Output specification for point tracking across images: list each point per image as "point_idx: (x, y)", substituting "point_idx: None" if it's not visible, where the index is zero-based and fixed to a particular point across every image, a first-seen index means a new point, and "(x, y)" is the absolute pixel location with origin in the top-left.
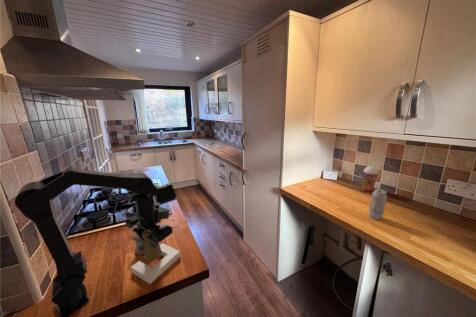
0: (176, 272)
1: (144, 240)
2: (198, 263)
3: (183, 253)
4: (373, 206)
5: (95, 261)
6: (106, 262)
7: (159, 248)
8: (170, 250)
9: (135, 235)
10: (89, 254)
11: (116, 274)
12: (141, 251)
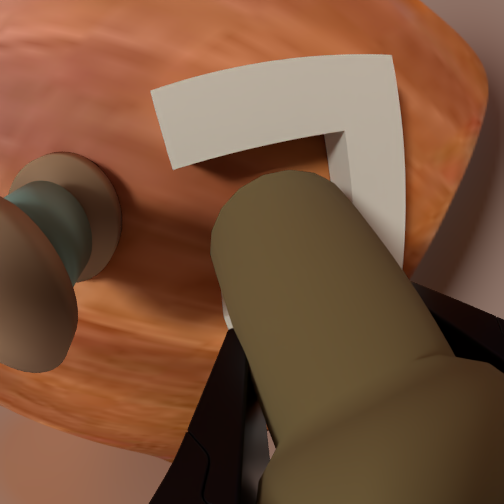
0: (433, 161)
1: (263, 421)
2: (466, 57)
3: (353, 27)
4: None
5: (59, 388)
6: (82, 373)
7: (371, 228)
8: (321, 88)
9: (4, 348)
10: (16, 384)
11: (190, 369)
12: (100, 253)
